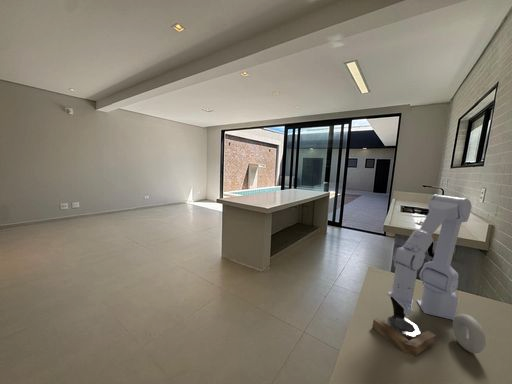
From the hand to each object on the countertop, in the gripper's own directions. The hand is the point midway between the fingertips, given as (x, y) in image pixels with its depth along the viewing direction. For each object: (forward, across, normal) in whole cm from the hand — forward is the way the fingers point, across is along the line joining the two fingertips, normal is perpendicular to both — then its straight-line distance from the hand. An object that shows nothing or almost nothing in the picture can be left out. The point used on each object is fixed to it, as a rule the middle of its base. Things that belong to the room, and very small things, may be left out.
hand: (398, 320), depth 73 cm
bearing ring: (+1, +5, 0) cm, 5 cm away
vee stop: (+1, +8, 0) cm, 8 cm away
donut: (+2, +3, +17) cm, 17 cm away
